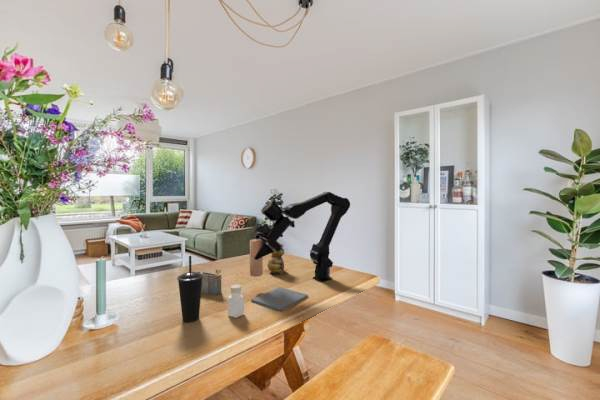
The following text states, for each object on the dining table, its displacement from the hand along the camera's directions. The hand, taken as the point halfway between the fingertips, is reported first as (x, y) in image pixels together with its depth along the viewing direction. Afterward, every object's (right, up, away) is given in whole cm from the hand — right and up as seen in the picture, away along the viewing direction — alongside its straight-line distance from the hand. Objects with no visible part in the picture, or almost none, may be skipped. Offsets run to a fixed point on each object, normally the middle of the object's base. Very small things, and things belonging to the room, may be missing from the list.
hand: (253, 257), depth 114 cm
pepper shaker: (-2, -15, -22) cm, 26 cm away
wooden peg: (+1, -7, +1) cm, 7 cm away
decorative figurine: (+7, -13, +25) cm, 29 cm away
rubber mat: (+12, -14, -8) cm, 20 cm away
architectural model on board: (-18, -14, -1) cm, 23 cm away
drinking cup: (-16, -15, -24) cm, 32 cm away
